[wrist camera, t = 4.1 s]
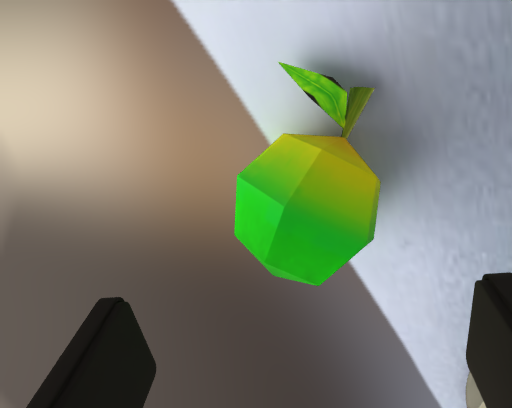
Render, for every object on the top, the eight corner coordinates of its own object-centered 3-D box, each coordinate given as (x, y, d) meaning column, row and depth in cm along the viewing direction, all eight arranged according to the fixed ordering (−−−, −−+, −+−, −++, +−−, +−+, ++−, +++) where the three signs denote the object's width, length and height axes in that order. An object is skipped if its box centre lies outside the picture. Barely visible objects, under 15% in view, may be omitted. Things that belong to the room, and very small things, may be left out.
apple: (332, 282, 20) (418, 125, 18) (351, 345, 13) (486, 113, 12) (212, 222, 20) (287, 61, 18) (174, 257, 14) (284, 16, 12)
